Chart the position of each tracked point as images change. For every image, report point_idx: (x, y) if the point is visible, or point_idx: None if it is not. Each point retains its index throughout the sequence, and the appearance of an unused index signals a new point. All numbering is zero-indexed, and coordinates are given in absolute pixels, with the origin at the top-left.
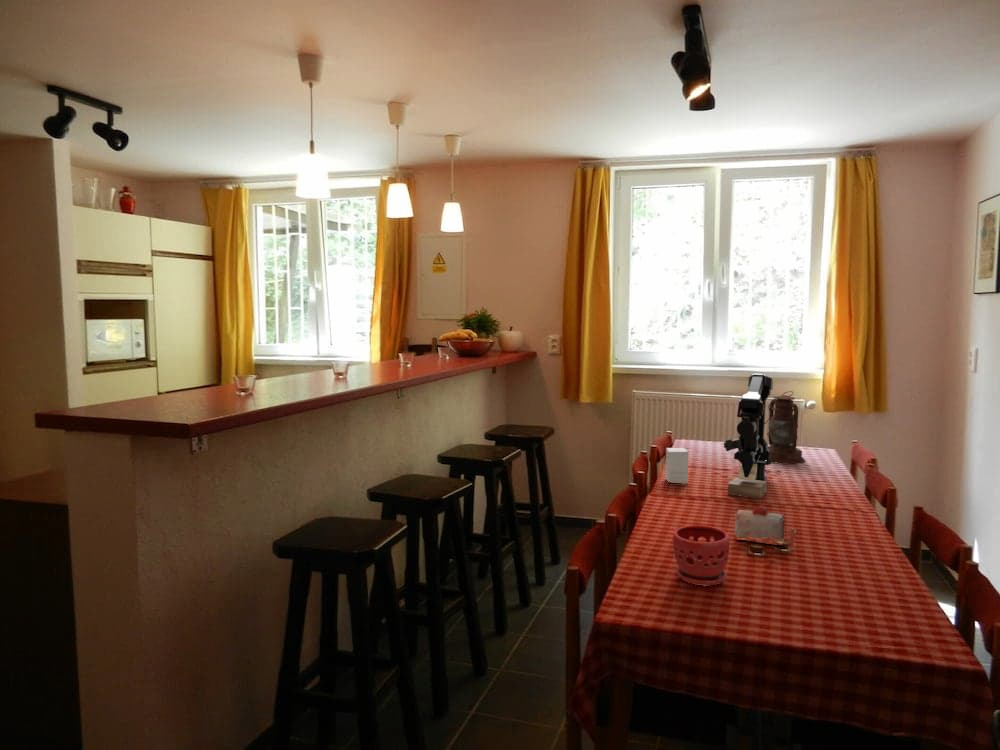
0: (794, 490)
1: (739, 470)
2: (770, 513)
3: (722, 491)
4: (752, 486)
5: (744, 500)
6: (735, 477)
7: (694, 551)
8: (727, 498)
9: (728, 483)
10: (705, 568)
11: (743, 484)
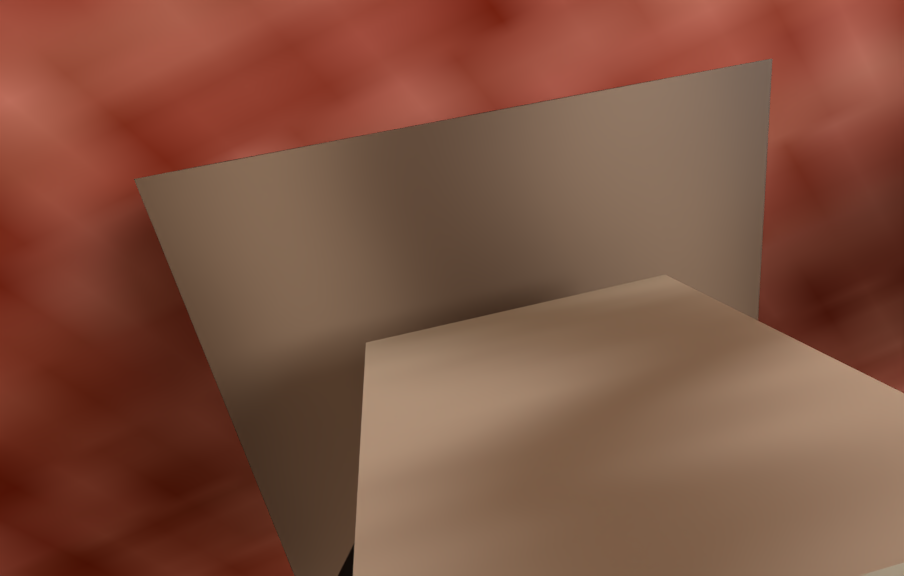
0: None
1: (360, 489)
2: None
3: (328, 13)
4: (312, 549)
5: (139, 435)
6: (745, 71)
7: None
8: (19, 250)
9: (146, 181)
10: None
11: (320, 414)
